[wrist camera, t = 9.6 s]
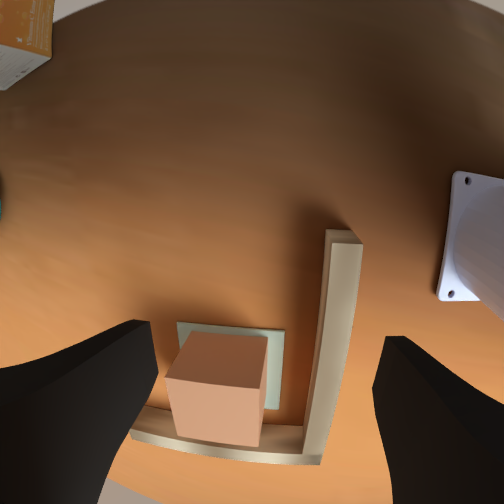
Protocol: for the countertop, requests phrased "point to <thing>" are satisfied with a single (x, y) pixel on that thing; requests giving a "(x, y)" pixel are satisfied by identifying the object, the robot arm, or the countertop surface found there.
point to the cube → (219, 388)
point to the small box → (24, 38)
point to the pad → (273, 335)
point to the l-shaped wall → (321, 382)
